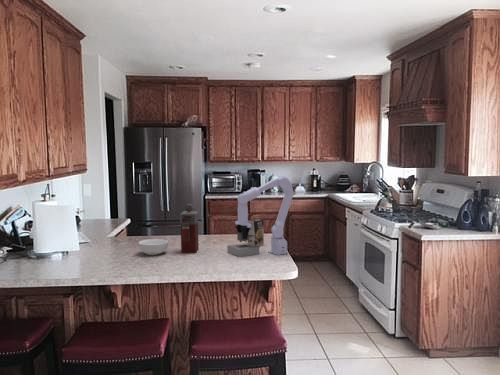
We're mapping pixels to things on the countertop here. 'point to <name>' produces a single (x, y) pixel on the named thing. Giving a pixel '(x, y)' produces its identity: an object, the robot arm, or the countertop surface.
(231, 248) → the socket plate
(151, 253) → the cereal bowl
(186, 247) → the glass bottle
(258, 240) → the coffee box
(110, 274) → the countertop surface
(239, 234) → the plug
